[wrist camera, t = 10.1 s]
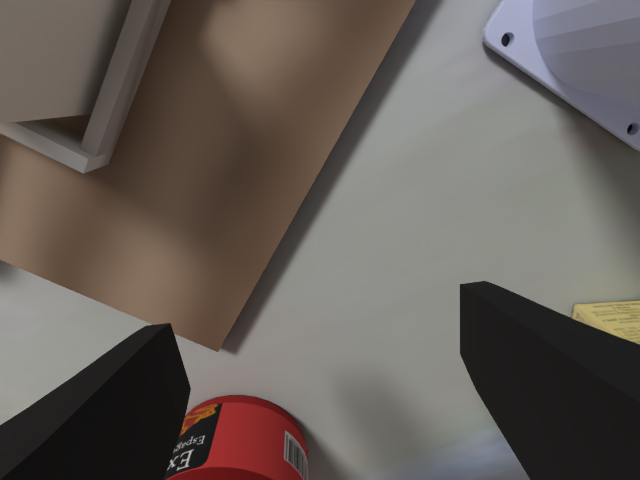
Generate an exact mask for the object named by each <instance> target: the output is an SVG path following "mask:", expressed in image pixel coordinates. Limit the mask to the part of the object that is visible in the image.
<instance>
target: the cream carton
mask: <svg viewBox="0 0 640 480" xmlns="http://www.w3.org/2000/svg"><path fill="white" fill-rule="evenodd" d="M130 3H131V0H0V124H2V123H12V122H21V121H30V120H40V119H49V118H58V117H67V116H77V115H86V114H92V112H93V109H94V107H95V104H96V101H97V98H98V95H99V92H100V90H101V87H102V84H103V81H104V78H105V76H106V73H107V70H108V67H109V64H110V61H111V59H112V56H113V53H114V50H115V47H116V45H117V42H118V39H119V36H120V33H121V30H122V28H123V25H124V22H125V19H126V15H127V12H128V9H129V6H130Z"/></svg>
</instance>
